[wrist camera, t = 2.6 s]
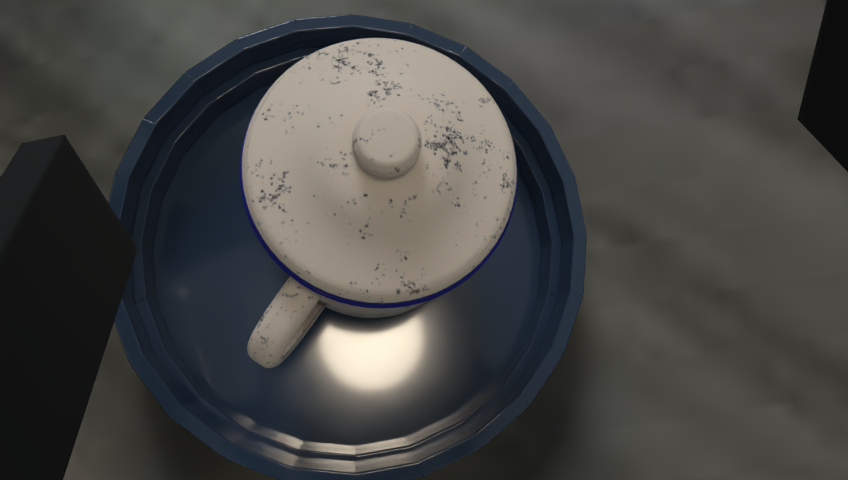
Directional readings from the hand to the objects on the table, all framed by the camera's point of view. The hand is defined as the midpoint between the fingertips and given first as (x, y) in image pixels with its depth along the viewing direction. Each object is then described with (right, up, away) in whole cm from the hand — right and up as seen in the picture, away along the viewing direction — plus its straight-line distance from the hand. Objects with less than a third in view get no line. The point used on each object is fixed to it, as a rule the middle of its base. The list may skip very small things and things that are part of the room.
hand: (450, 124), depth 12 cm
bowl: (-4, -3, +18) cm, 19 cm away
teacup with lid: (-4, -3, +18) cm, 19 cm away
